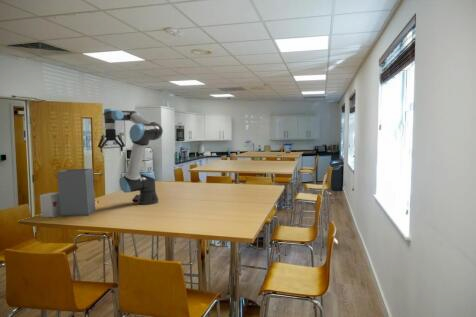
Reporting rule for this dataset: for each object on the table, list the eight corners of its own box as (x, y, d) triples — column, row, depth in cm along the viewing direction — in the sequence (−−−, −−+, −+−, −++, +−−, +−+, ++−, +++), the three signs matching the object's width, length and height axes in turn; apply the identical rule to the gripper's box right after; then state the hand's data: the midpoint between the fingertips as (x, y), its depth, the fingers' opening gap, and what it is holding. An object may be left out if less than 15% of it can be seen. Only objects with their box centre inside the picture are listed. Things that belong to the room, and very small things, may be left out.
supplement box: (52, 217, 217) (50, 195, 216) (41, 217, 219) (39, 195, 217) (62, 214, 226) (60, 192, 224) (51, 213, 227) (49, 192, 226)
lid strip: (99, 202, 260) (98, 199, 260) (87, 209, 236) (87, 206, 236) (95, 203, 260) (95, 199, 259) (83, 210, 236) (83, 206, 235)
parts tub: (95, 210, 232) (92, 168, 229) (88, 215, 219) (85, 170, 216) (69, 212, 231) (65, 169, 228) (60, 216, 218) (56, 171, 215)
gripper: (127, 128, 261) (129, 154, 263) (95, 129, 259) (97, 156, 261) (125, 128, 254) (127, 155, 255) (92, 129, 252) (94, 156, 254)
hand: (112, 155), depth 258 cm, fingers open, 13 cm apart
